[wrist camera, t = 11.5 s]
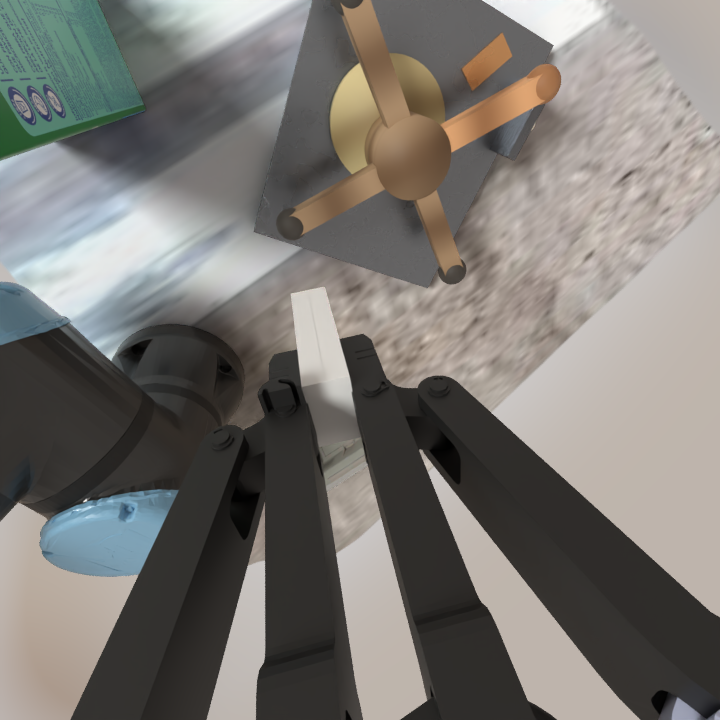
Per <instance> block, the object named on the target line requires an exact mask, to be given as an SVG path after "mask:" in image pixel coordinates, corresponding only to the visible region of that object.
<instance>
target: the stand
mask: <svg viewBox="0 0 720 720" xmlns="http://www.w3.org/2000/svg"><path fill="white" fill-rule="evenodd" d="M371 3H372V6H373V8H374V11H375V14H376V17H377V20H378V23H379V26H380V29H381V32H382V34H383V37H384V40H385V43H386V46H387V49H388V52H389V53H398V54H403V55H406V56H409V57H412V58H413V59H415V60H417V61H419V62H420V63H421V64H423V65H424V66H425V67H426V68H427V69H428V70H429V71H430V72H431V74H432V75H433V77H434V78H435V79H436V81H437V83H438V85H439V87H440V90H441V93H442V96H443V100H444V106H445V122H446V121H448V120H449V119H451V118H453V117H455V116H456V115H458V114H460V113H462V112H464V111H465V110H467V109H469V108H471V107H472V106H474V105H476V104H478V103H479V102H481V101H483V100H485V99H487V98H488V97H490V96H492V95H494V94H495V93H497V92H499V91H501V90H503V89H504V88H506V87H508V86H510V85H511V84H513V83H515V82H517V81H519V80H520V79H522V78H524V77H526V76H527V75H528V74H529V73H530V72H531V71H532V70H533V69H534V68H536V67H537V66H539V65H542V64H544V63H545V61H546V59H547V57H548V55H549V53H550V51H551V49H552V48H553V46H554V45H552V44H550V43H549V42H547V41H546V40H544V39H542V38H541V37H539V36H538V35H536V34H535V33H533V32H531V31H530V30H528V29H527V28H525V27H523V26H522V25H520V24H519V23H517V22H515V21H514V20H512V19H511V18H509V17H507V16H506V15H504V14H503V13H501V12H499V11H498V10H496V9H495V8H493V7H492V6H490V5H488V4H487V3H485V2H484V1H482V0H371ZM358 63H359V60H358V57H357V55H356V52H355V50H354V47H353V44H352V42H351V39H350V37H349V34H348V32H347V29H346V26H345V24H344V21H343V19H342V16H341V15H340V14H339V13H338V12H337V11H336V10H335V9H334V7H333V5H332V3H331V0H312V4H311V8H310V12H309V16H308V20H307V24H306V28H305V32H304V36H303V40H302V43H301V47H300V51H299V55H298V59H297V63H296V67H295V71H294V75H293V79H292V83H291V87H290V90H289V94H288V98H287V102H286V106H285V110H284V114H283V118H282V122H281V126H280V130H279V134H278V137H277V141H276V145H275V149H274V153H273V157H272V161H271V165H270V169H269V173H268V177H267V180H266V184H265V188H264V192H263V196H262V200H261V204H260V208H259V212H258V216H257V220H256V224H255V228H254V232H256V233H259V234H262V235H265V236H268V237H271V238H274V239H278V240H281V241H284V242H287V243H290V244H293V245H296V246H299V247H302V248H305V249H308V250H311V251H315V252H318V253H321V254H324V255H327V256H330V257H333V258H336V259H339V260H342V261H345V262H348V263H352V264H355V265H358V266H361V267H364V268H367V269H370V270H373V271H376V272H379V273H382V274H385V275H389V276H392V277H395V278H398V279H401V280H404V281H407V282H410V283H413V284H416V285H419V286H422V287H426V288H428V287H429V285H430V283H431V281H432V279H433V277H434V275H435V273H436V271H437V269H438V267H439V266H438V263H437V260H436V258H435V255H434V253H433V250H432V248H431V245H430V242H429V240H428V237H427V235H426V232H425V230H424V227H423V224H422V222H421V219H420V217H419V214H418V212H417V209H416V206H415V204H414V201H413V200H402V199H399V198H396V197H394V196H393V195H391V194H390V193H389V192H388V191H387V190H386V189H385V190H383V191H381V192H379V193H377V194H375V195H374V196H372V197H370V198H368V199H366V200H365V201H363V202H361V203H359V204H357V205H355V206H354V207H352V208H350V209H348V210H346V211H345V212H343V213H341V214H339V215H337V216H335V217H334V218H332V219H330V220H328V221H326V222H325V223H323V224H321V225H319V226H317V227H316V228H314V229H312V230H310V231H308V232H306V233H305V234H304V236H303V237H301V238H300V239H298V240H293V241H292V240H287V239H285V238H283V237H282V236H281V235H280V234H279V232H278V231H277V227H276V219H277V216H278V215H279V213H280V212H281V211H283V210H284V209H287V208H293V207H295V206H297V205H299V204H300V203H302V202H304V201H306V200H307V199H309V198H311V197H313V196H315V195H316V194H318V193H320V192H322V191H323V190H325V189H327V188H329V187H331V186H332V185H334V184H336V183H338V182H339V181H341V180H343V179H345V178H346V177H348V176H350V175H352V174H351V173H350V172H349V171H348V169H347V168H346V167H345V166H344V164H343V163H342V162H341V160H340V158H339V156H338V155H337V153H336V151H335V148H334V146H333V142H332V139H331V134H330V122H329V119H330V109H331V104H332V100H333V97H334V94H335V92H336V90H337V88H338V85H339V84H340V82H341V81H342V79H343V78H344V76H345V75H346V74H347V73H348V71H350V70H351V69H352V68H353V67H354V66H355V65H356V64H358ZM545 104H546V103H545ZM545 104H542V105H537V106H535V107H533V108H532V109H530V110H528V111H526V112H524V113H523V114H521V115H519V116H517V117H515V118H513V119H512V120H510V121H508V122H506V123H504V124H503V125H501V126H499V127H497V128H495V129H494V130H492V131H490V132H488V133H486V134H484V135H483V136H481V137H479V138H477V139H475V140H474V141H472V142H470V143H468V144H466V145H464V146H463V147H461V148H459V149H457V150H455V151H454V152H452V153H451V162H450V167H449V170H448V173H447V175H446V177H445V179H444V180H443V182H442V183H441V184H440V186H439V187H438V188H437V189H436V190H437V193H438V196H439V199H440V201H441V204H442V207H443V210H444V213H445V216H446V219H447V222H448V225H449V227H450V230H451V233H452V236H453V238H454V236H455V234H456V233H457V231H458V229H459V227H460V225H461V223H462V221H463V219H464V217H465V215H466V213H467V211H468V209H469V207H470V206H471V204H472V202H473V200H474V198H475V196H476V194H477V192H478V190H479V188H480V186H481V184H482V182H483V181H484V179H485V177H486V175H487V173H488V171H489V169H490V167H491V165H492V163H493V161H494V159H495V157H496V155H497V154H500V155H502V156H505V157H507V158H509V159H512V160H514V161H515V159H516V157H517V155H518V153H519V151H520V150H521V148H522V146H523V144H524V142H525V140H526V139H527V137H528V135H529V133H530V132H531V131H532V130H533V129H534V127H535V125H536V120H537V118H538V116H539V115H540V113H541V111H542V109H543V107H544V105H545Z"/></svg>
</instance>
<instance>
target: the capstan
mask: <svg viewBox="0 0 720 720" xmlns="http://www.w3.org/2000/svg"><path fill="white" fill-rule="evenodd" d="M331 3H332V5H333V7H334V9H335V10H336V11H337V12H338V13H339V14H340V15H341V16H342V19H343V21H344V24H345V26H346V29H347V32H348V34H349V37H350V39H351V42H352V44H353V47H354V50H355V52H356V55H357V57H358V60H359V63H358V64H356V65H355V66H354V67H353V68H352V69H351V70H350V71H348V73H347V74H346V75H345V76H344V78H343V79H342V81H341V82H340V84H339V85H338V88H337V90H336V92H335V94H334V97H333V100H332V104H331V109H330V119H329V122H330V134H331V139H332V142H333V146H334V148H335V151H336V153H337V155H338V156H339V158H340V160H341V162H342V163H343V164H344V166H345V167H346V168H347V169H348V171H349V172H350V173H351V174H352V175H350V176H348V177H346V178H345V179H343V180H341V181H339V182H338V183H336V184H334V185H332V186H331V187H329V188H327V189H325V190H323V191H322V192H320V193H318V194H316V195H315V196H313V197H311V198H309V199H307V200H306V201H304V202H302V203H300V204H299V205H297V206H295V207H293V208H287V209H284V210H283V211H281V212H280V213H279V215H278V216H277V219H276V227H277V231H278V232H279V234H280V235H281V236H282V237H283V238H285V239H287V240H292V241H293V240H298V239H300V238H301V237H303V236H304V234H305V233H306V232H308V231H310V230H312V229H314V228H316V227H317V226H319V225H321V224H323V223H325V222H326V221H328V220H330V219H332V218H334V217H335V216H337V215H339V214H341V213H343V212H345V211H346V210H348V209H350V208H352V207H354V206H355V205H357V204H359V203H361V202H363V201H365V200H366V199H368V198H370V197H372V196H374V195H375V194H377V193H379V192H381V191H383V190H385V189H386V190H387V191H388V192H389V193H390V194H391V195H393V196H394V197H396V198H399V199H402V200H413V201H414V204H415V206H416V209H417V212H418V214H419V217H420V219H421V222H422V224H423V227H424V230H425V232H426V235H427V237H428V240H429V242H430V245H431V248H432V250H433V253H434V255H435V258H436V260H437V263H438V266H439V269H438V273H439V277H440V278H441V280H442V281H443V282H445V283H447V284H456V283H459V282H460V281H461V280H462V279H463V278H464V277H465V274H466V265H465V263H464V262H463V260H461V259H460V256H459V253H458V250H457V248H456V245H455V242H454V239H453V236H452V233H451V230H450V227H449V225H448V222H447V219H446V216H445V213H444V210H443V207H442V204H441V201H440V199H439V196H438V193H437V190H436V189H437V188H438V187H439V186H440V184H441V183H442V182H443V180H444V179H445V177H446V175H447V173H448V170H449V167H450V162H451V153H452V152H454V151H455V150H457V149H459V148H461V147H463V146H464V145H466V144H468V143H470V142H472V141H474V140H475V139H477V138H479V137H481V136H483V135H484V134H486V133H488V132H490V131H492V130H494V129H495V128H497V127H499V126H501V125H503V124H504V123H506V122H508V121H510V120H512V119H513V118H515V117H517V116H519V115H521V114H523V113H524V112H526V111H528V110H530V109H532V108H533V107H535V106H537V105H542V104H545V103H547V102H549V101H550V100H552V99H553V98H554V97H555V95H556V94H557V92H558V91H559V88H560V85H561V75H560V72H559V70H558V69H557V68H556V67H555V66H553V65H551V64H542V65H539V66H537V67H536V68H534V69H533V70H532V71H531V72H530V73H529V74H528V75H527V76H526V77H524V78H522V79H520V80H519V81H517V82H515V83H513V84H511V85H510V86H508V87H506V88H504V89H503V90H501V91H499V92H497V93H495V94H494V95H492V96H490V97H488V98H487V99H485V100H483V101H481V102H479V103H478V104H476V105H474V106H472V107H471V108H469V109H467V110H465V111H464V112H462V113H460V114H458V115H456V116H455V117H453V118H451V119H449V120H448V121H446V122H445V106H444V100H443V96H442V93H441V90H440V87H439V85H438V83H437V81H436V79H435V78H434V77H433V75H432V74H431V72H430V71H429V70H428V69H427V68H426V67H425V66H424V65H423V64H421V63H420V62H419V61H417V60H415V59H413V58H412V57H409V56H406V55H403V54H398V53H389V52H388V49H387V46H386V43H385V40H384V37H383V34H382V32H381V29H380V26H379V23H378V20H377V17H376V14H375V11H374V8H373V6H372V3H371V0H331Z"/></svg>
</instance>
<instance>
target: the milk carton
mask: <svg viewBox="0 0 720 720" xmlns="http://www.w3.org/2000/svg"><path fill="white" fill-rule="evenodd" d="M145 110H146V108H145V106H144V103H143V101H142V99H141V97H140V94H139V92H138V90H137V88H136V86H135V83H134V81H133V79H132V77H131V74H130V72H129V70H128V68H127V66H126V63H125V61H124V59H123V57H122V54H121V52H120V50H119V48H118V46H117V43H116V41H115V39H114V37H113V34H112V32H111V30H110V28H109V26H108V23H107V21H106V19H105V17H104V14H103V12H102V10H101V8H100V6H99V3H98V1H97V0H0V161H1V160H4V159H7V158H10V157H13V156H15V155H18V154H21V153H24V152H27V151H30V150H33V149H36V148H39V147H42V146H45V145H48V144H50V143H53V142H56V141H59V140H62V139H65V138H68V137H71V136H74V135H77V134H80V133H82V132H85V131H88V130H91V129H94V128H97V127H100V126H103V125H106V124H109V123H112V122H115V121H117V120H120V119H123V118H126V117H129V116H132V115H135V114H138V113H141V112H144V111H145Z"/></svg>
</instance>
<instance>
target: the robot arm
mask: <svg viewBox="0 0 720 720" xmlns="http://www.w3.org/2000/svg"><path fill="white" fill-rule="evenodd" d="M291 299H292V308H293V317H294V325H295V334H296V343H297V350H293V351H288V352H284V353H279V354H275V355H274V356H273V358H272V359H271V361H270V363H269V380H270V381H268V382H267V383H265V384H264V385H263V386H262V387H261V388H260V389H259V392H258V398H259V400H260V403H261V406H262V408H263V411H264V413H265V417H264V418H263V419H262V420H260V421H259V422H258V423H256V424H255V425H253V426H251V427H249V428H247V429H245V430H243V431H242V429H241V428H239V427H238V426H235V425H226V424H227V423H228V421H229V420H230V418H231V417H232V415H233V414H234V412H235V411H236V410H237V408H238V406H239V404H240V402H241V399H242V395H243V388H244V371H243V368H242V365H241V363H240V360H239V359H238V357H237V356H236V354H235V353H234V352H233V350H232V349H231V348H230V347H229V346H228V345H227V344H225V343H224V342H223V341H222V340H220V339H219V338H217V337H215V336H214V335H212V334H210V333H208V332H205V331H203V330H200V329H197V328H193V327H189V326H184V325H158V326H153V327H149V328H145V329H143V330H140V331H138V332H136V333H134V334H133V335H131V336H130V337H128V338H127V339H126V340H125V341H124V342H123V343H122V344H121V345H120V347H119V348H118V350H117V352H116V353H115V355H114V357H113V359H112V361H110V360H109V359H108V358H107V357H106V356H105V355H103V354H102V353H101V352H100V351H99V350H98V349H97V348H96V347H95V346H94V345H93V344H92V343H90V342H89V341H88V340H87V339H86V338H85V337H84V336H83V335H82V334H81V333H80V332H79V331H78V330H77V329H75V328H74V327H73V326H72V325H71V324H70V322H71V321H70V320H69V319H68V318H67V317H62V316H61V315H59V314H58V313H57V312H56V311H54V310H53V309H52V308H51V307H49V306H48V305H47V304H46V303H44V302H43V301H42V300H41V299H39V298H38V297H37V296H36V295H35V294H33V293H32V292H31V291H30V290H28V289H27V288H25V287H23V286H21V285H18V284H15V283H10V282H0V521H1V520H2V519H3V518H4V517H5V516H6V515H7V514H8V513H9V511H10V510H11V509H12V508H13V507H14V506H15V505H16V504H17V503H18V502H19V503H21V504H23V505H25V506H26V507H28V508H30V509H32V510H34V511H35V512H37V513H39V514H41V515H43V516H44V517H46V518H47V520H48V521H47V522H46V524H45V525H44V526H43V527H42V530H41V532H40V537H41V540H40V547H41V549H42V554H43V556H44V557H45V558H46V560H48V561H49V562H50V563H52V564H53V565H55V566H57V567H59V568H61V569H64V570H67V571H70V572H74V573H78V574H84V575H92V576H107V577H116V576H129V575H137V574H139V575H138V578H137V580H136V582H135V584H134V586H133V588H132V590H131V593H130V595H129V597H128V599H127V601H126V603H125V605H124V607H123V609H122V612H121V614H120V616H119V618H118V620H117V622H116V624H115V627H114V629H113V631H112V633H111V635H110V637H109V639H108V641H107V644H106V646H105V648H104V650H103V652H102V654H101V656H100V658H99V660H98V663H97V665H96V667H95V669H94V671H93V673H92V675H91V677H90V680H89V682H88V684H87V686H86V688H85V690H84V692H83V694H82V697H81V699H80V701H79V703H78V705H77V707H76V709H75V711H74V713H73V716H72V718H71V720H206V719H207V715H208V712H209V708H210V704H211V700H212V696H213V693H214V689H215V685H216V681H217V678H218V674H219V670H220V667H221V663H222V659H223V655H224V652H225V648H226V644H227V640H228V637H229V633H230V629H231V625H232V622H233V618H234V614H235V610H236V607H237V603H238V599H239V596H240V592H241V588H242V584H243V580H244V577H245V573H246V569H247V566H248V562H249V558H250V555H251V551H252V547H253V543H254V540H255V536H256V532H257V528H258V525H259V521H260V517H261V513H262V510H263V506H264V502H265V622H266V623H265V624H266V625H265V630H266V631H265V633H266V637H265V638H266V640H265V641H266V648H265V660H264V664H263V665H262V667H261V668H260V670H259V674H258V680H257V693H256V694H257V695H256V720H363V717H362V713H361V707H360V703H359V698H358V694H357V689H356V684H355V678H354V671H353V664H352V658H351V651H350V644H349V638H348V632H347V624H346V618H345V611H344V604H343V598H342V591H341V584H340V578H339V571H338V564H337V557H336V551H335V544H334V537H333V531H332V524H331V517H330V511H329V504H328V497H327V491H326V484H325V477H324V471H323V464H322V458H321V455H320V451H319V447H322V446H326V445H330V444H335V443H339V442H343V441H347V440H351V439H355V438H360V437H361V438H362V443H363V449H364V454H365V459H366V464H368V468H369V472H370V476H371V480H372V484H373V487H374V491H375V495H376V499H377V503H378V507H379V511H380V515H381V518H382V522H383V526H384V530H385V534H386V537H387V542H388V545H389V549H390V553H391V557H392V561H393V565H394V569H395V573H396V577H397V581H398V584H399V588H400V592H401V596H402V600H403V604H404V607H405V612H406V616H407V619H408V623H409V627H410V631H411V635H412V639H413V643H414V646H415V650H416V654H417V658H418V662H419V666H420V670H421V675H422V679H423V683H424V688H425V692H426V696H427V701H426V702H425V703H424V704H422V705H421V706H419V707H418V708H416V709H415V710H414V711H412V712H411V713H409V714H408V715H406V716H405V717H404V718H402V719H401V720H557V719H555V718H554V717H553V716H552V715H550V714H549V713H547V712H546V711H544V710H543V709H541V708H539V707H538V706H537V705H535V704H533V703H531V702H529V701H528V700H527V698H526V695H525V693H524V691H523V688H522V686H521V683H520V681H519V679H518V676H517V674H516V671H515V669H514V667H513V664H512V662H511V660H510V657H509V655H508V652H507V650H506V647H505V645H504V643H503V640H502V638H501V635H500V633H499V630H498V628H497V626H496V624H495V621H494V619H493V617H492V615H491V613H490V612H489V610H488V608H487V607H486V606H485V605H484V604H482V603H481V601H480V599H479V598H478V595H477V593H476V591H475V588H474V586H473V583H472V581H471V579H470V576H469V574H468V571H467V569H466V567H465V564H464V561H463V559H462V556H461V554H460V551H459V549H458V546H457V544H456V542H455V539H454V536H453V534H452V531H451V529H450V526H449V524H448V521H447V519H446V517H445V514H444V511H443V509H442V507H441V504H440V502H439V499H438V497H437V494H436V492H435V489H434V487H433V484H432V482H431V479H430V477H429V474H428V472H427V469H426V467H425V464H424V462H423V459H422V457H421V454H420V452H419V449H422V450H423V452H424V454H425V455H426V456H427V458H428V459H429V460H430V461H431V463H432V464H433V465H434V467H435V468H436V469H437V470H438V472H439V473H440V474H441V475H442V477H443V478H444V479H445V480H446V482H447V483H448V484H449V486H450V487H451V488H452V489H453V491H454V492H455V493H456V494H457V495H458V497H459V498H460V499H461V501H462V502H463V503H464V505H465V506H466V507H467V508H468V510H469V511H470V512H471V513H472V515H473V516H474V517H475V518H476V520H477V521H478V522H479V524H480V525H481V526H482V527H483V528H484V530H485V531H486V532H487V533H488V535H489V536H490V537H491V539H492V540H493V541H494V543H495V544H496V545H497V546H498V548H499V549H500V550H501V551H502V552H503V554H504V555H505V556H506V558H507V559H508V560H509V561H510V563H511V564H512V565H513V567H514V568H515V569H516V570H517V572H518V573H519V574H520V575H521V577H522V578H523V579H524V580H525V582H526V583H527V584H528V586H529V587H530V588H531V589H532V590H533V592H534V593H535V594H536V596H537V597H538V598H539V599H540V601H541V602H542V603H543V605H544V606H545V607H546V608H547V610H548V611H549V612H550V613H551V615H552V616H553V617H554V618H555V620H556V621H557V622H558V623H559V625H560V626H561V627H562V629H563V630H564V631H565V632H566V634H567V635H568V636H569V637H570V639H571V640H572V641H573V643H574V644H575V645H576V646H577V648H578V649H579V650H580V651H581V653H582V654H583V655H584V656H585V658H586V659H587V660H588V661H589V663H590V664H591V665H592V667H593V668H594V669H595V670H596V672H597V673H598V674H599V675H600V676H601V678H603V680H604V681H605V682H606V683H607V685H608V686H609V687H610V688H611V689H612V690H613V692H614V693H615V694H616V695H617V696H618V697H619V699H620V700H622V701H623V703H625V705H626V706H627V707H628V708H629V709H631V711H632V712H633V713H634V714H635V715H636V716H637V717H639V719H640V720H720V617H718V616H716V615H715V614H713V613H711V612H710V611H709V610H708V609H706V607H704V606H703V605H702V604H701V603H700V602H699V601H698V600H697V599H696V598H695V597H694V596H692V595H691V594H690V593H689V592H688V591H687V590H686V589H685V588H684V587H683V586H681V585H680V584H679V583H678V582H677V581H676V580H675V579H674V578H673V577H671V576H670V575H669V574H668V573H667V572H666V571H665V570H664V569H663V568H662V567H660V566H659V565H658V564H657V563H656V562H655V561H654V560H653V559H652V558H650V557H649V556H648V555H647V554H646V553H645V552H644V551H643V550H642V549H641V548H639V547H638V546H637V545H636V544H635V543H634V542H633V541H632V540H631V539H630V538H629V537H627V536H626V535H625V534H624V533H623V532H622V531H621V530H620V529H619V528H617V527H616V526H615V525H614V524H613V523H612V522H611V521H610V520H609V519H607V517H605V516H604V515H603V514H602V513H601V512H600V511H599V510H598V509H597V508H595V507H594V506H593V505H592V504H591V503H590V502H589V501H588V500H587V499H585V498H584V497H583V496H582V495H581V494H580V493H579V492H578V491H577V490H576V489H575V488H573V487H572V486H571V485H570V484H569V483H568V482H567V481H566V480H565V479H564V478H562V477H561V476H560V475H559V474H558V473H557V472H556V471H555V470H554V469H553V468H551V467H550V466H549V465H548V464H547V463H546V462H544V460H543V459H542V458H540V457H539V456H538V455H537V454H536V453H535V452H534V451H533V450H532V449H530V448H529V447H528V446H527V445H526V444H525V443H524V442H523V441H522V440H520V439H519V438H518V437H517V436H516V435H515V434H514V433H513V432H512V431H511V430H510V429H508V428H507V427H506V426H505V425H504V424H503V423H502V422H501V421H500V420H498V419H497V418H496V417H495V416H494V415H493V414H492V413H491V412H490V411H489V410H488V409H486V408H485V407H484V406H483V405H482V404H481V403H480V402H479V401H478V400H477V399H475V398H474V397H473V396H472V395H471V394H470V393H469V392H468V391H467V390H465V389H464V388H463V387H462V386H461V385H460V384H459V383H458V382H457V381H455V380H454V379H452V378H450V377H446V376H432V377H428V378H426V379H424V380H423V381H421V383H420V384H419V385H418V388H401V387H397V386H395V385H393V384H391V382H390V381H389V380H387V378H386V376H385V373H384V371H383V368H382V366H381V363H380V361H379V358H378V356H377V353H376V351H375V349H374V346H373V343H372V341H371V339H369V338H368V337H367V336H365V335H364V334H360V335H356V336H351V337H347V338H342V339H339V336H338V333H337V329H336V325H335V322H334V318H333V315H332V311H331V307H330V304H329V300H328V297H327V293H326V289H325V287H320V288H315V289H311V290H306V291H301V292H296V293H292V294H291ZM318 445H319V447H318Z"/></svg>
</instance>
